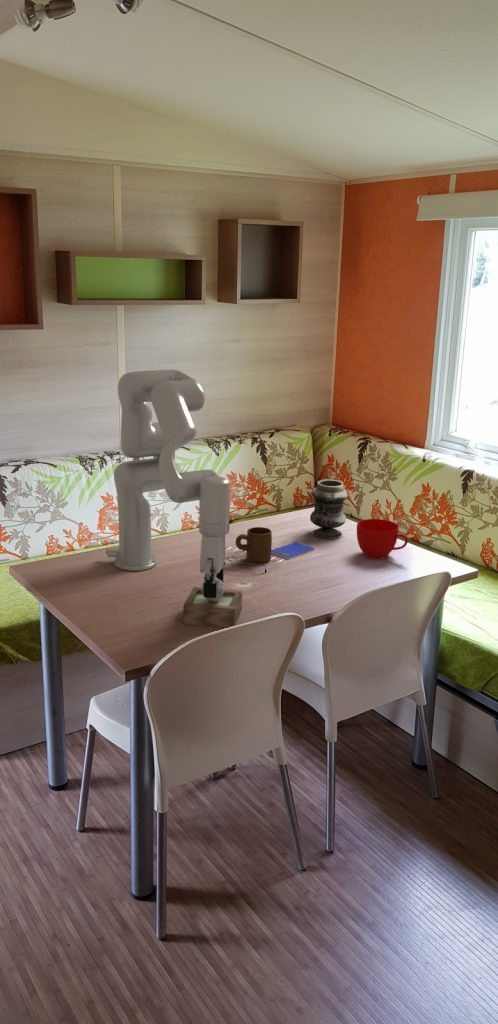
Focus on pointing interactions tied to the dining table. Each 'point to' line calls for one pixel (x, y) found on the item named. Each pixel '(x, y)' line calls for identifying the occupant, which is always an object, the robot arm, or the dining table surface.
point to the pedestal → (212, 609)
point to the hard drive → (292, 550)
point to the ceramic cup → (378, 537)
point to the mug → (256, 544)
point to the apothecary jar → (328, 508)
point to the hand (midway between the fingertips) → (213, 590)
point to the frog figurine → (219, 591)
